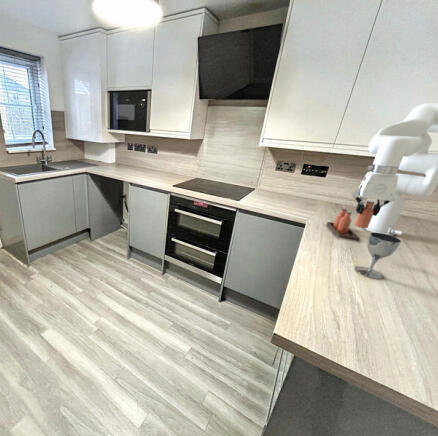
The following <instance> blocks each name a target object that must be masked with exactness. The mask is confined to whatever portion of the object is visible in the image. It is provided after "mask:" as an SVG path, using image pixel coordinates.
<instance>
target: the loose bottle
mask: <svg viewBox="0 0 438 436" xmlns="http://www.w3.org/2000/svg"><path fill="white" fill-rule="evenodd" d="M375 204H376V202H375V201H374V200H366V202H365V205H364V208H363V211H362V213H361V214H358V213H357V217H356V219H355V222H354V227H357V228H361V229H365V228H368V226H369V224H370V221H371V219H372V216H373V214H374V212H375V211H374V209H373V207H374V205H375Z"/></svg>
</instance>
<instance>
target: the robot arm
mask: <svg viewBox="0 0 438 436" xmlns="http://www.w3.org/2000/svg"><path fill="white" fill-rule="evenodd" d="M430 133H438V102H428V103H427V102H426V103H422V104H419V105H417V106H416V107H414V108H413V109H412V110H411V111H410V112H409V114H408V115H406V117H405V118H404V119H403V120H401V121H398V122H395V123H393V124H389V125H387V126H385V127H383V128H381V129H379V131H378V132H377V133H376V134H375V135H374V137H373V138H372V139H371V140H370V142H369V144H368V152H369V153H371V154H372V155H375V158H374V159H373V163H372V164H371V165H368V166H366V170H369V171H367V173H366V174H365V175H364V176H363V178H362V180H361V182H360V184H359V187H358V189H356V190H355V191H354V192H352V193H351V194H350V196H351V197H352V198H353V199H354V200H355V201H356V202H357V206H356V208H355V212H356V213H357V215H358V214H361V213H362V211H363V208H364V207H365V203H366V202H367V201H368V199H369V200H376V203H375V204H374V205H373V207H372V208H373V209H374V211H375V212H374V214H373V216H372V219H371V221H370V224H369V226H368V228H364V229H365V230H366V231H369V232H371V233H381V234H386V235H390V236H395V235H398V236H402V235H403V234H404V231H402V230H400V229H397V226H396V223H397V221H398V219H399V217H400V215H401V213H402V210H403V209H404V206H405V205H406V204H405V202H406V201H405V198H404V196H403V195H408V196H414V197H420V198H427V197H430V196H431V195H432V194H433V193H434V192H435V189H436V187H437V186H438V152H429V149H430V148H431V146H432V144H433V139H432V137H431V135H430ZM398 171H403V172H410V173H416V174H417V173H418V174H424V175H425V176H423V175H415V174H408V173H398ZM359 196H360V197H359Z"/></svg>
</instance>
